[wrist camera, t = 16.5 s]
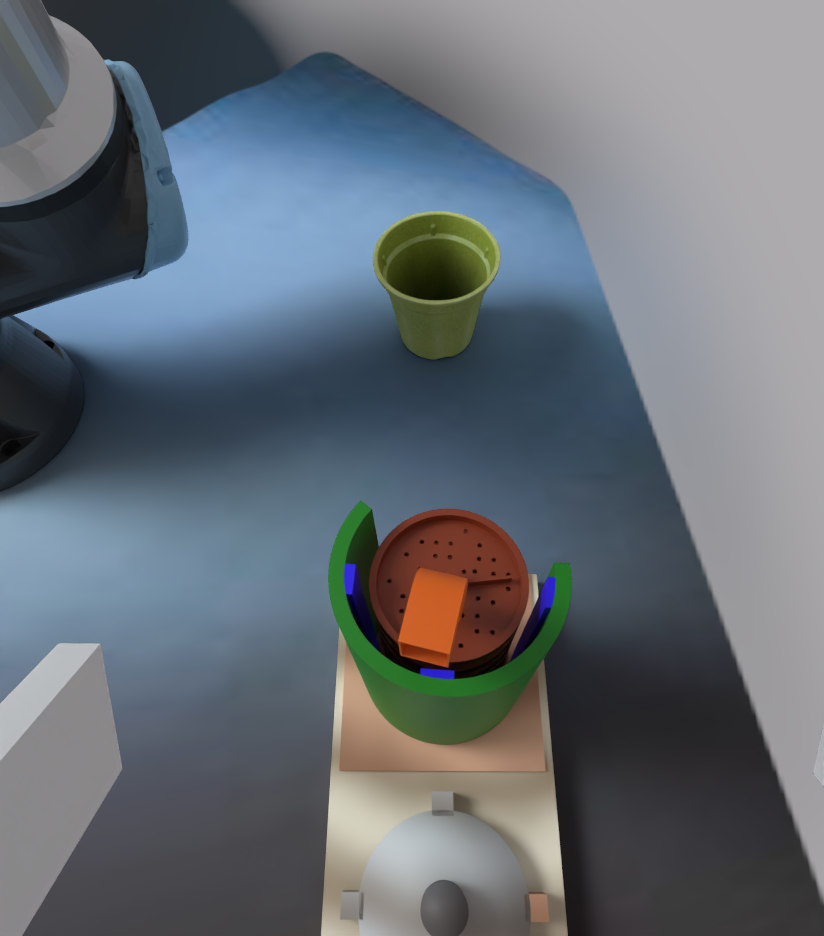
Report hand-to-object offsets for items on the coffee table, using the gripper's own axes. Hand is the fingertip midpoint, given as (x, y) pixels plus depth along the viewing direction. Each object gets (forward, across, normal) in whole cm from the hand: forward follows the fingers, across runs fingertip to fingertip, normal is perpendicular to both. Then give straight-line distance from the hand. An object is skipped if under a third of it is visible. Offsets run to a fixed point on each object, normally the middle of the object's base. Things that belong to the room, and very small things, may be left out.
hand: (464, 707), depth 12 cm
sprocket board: (+22, 0, -22) cm, 31 cm away
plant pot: (+47, 0, +2) cm, 47 cm away
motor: (+25, 0, -17) cm, 30 cm away
